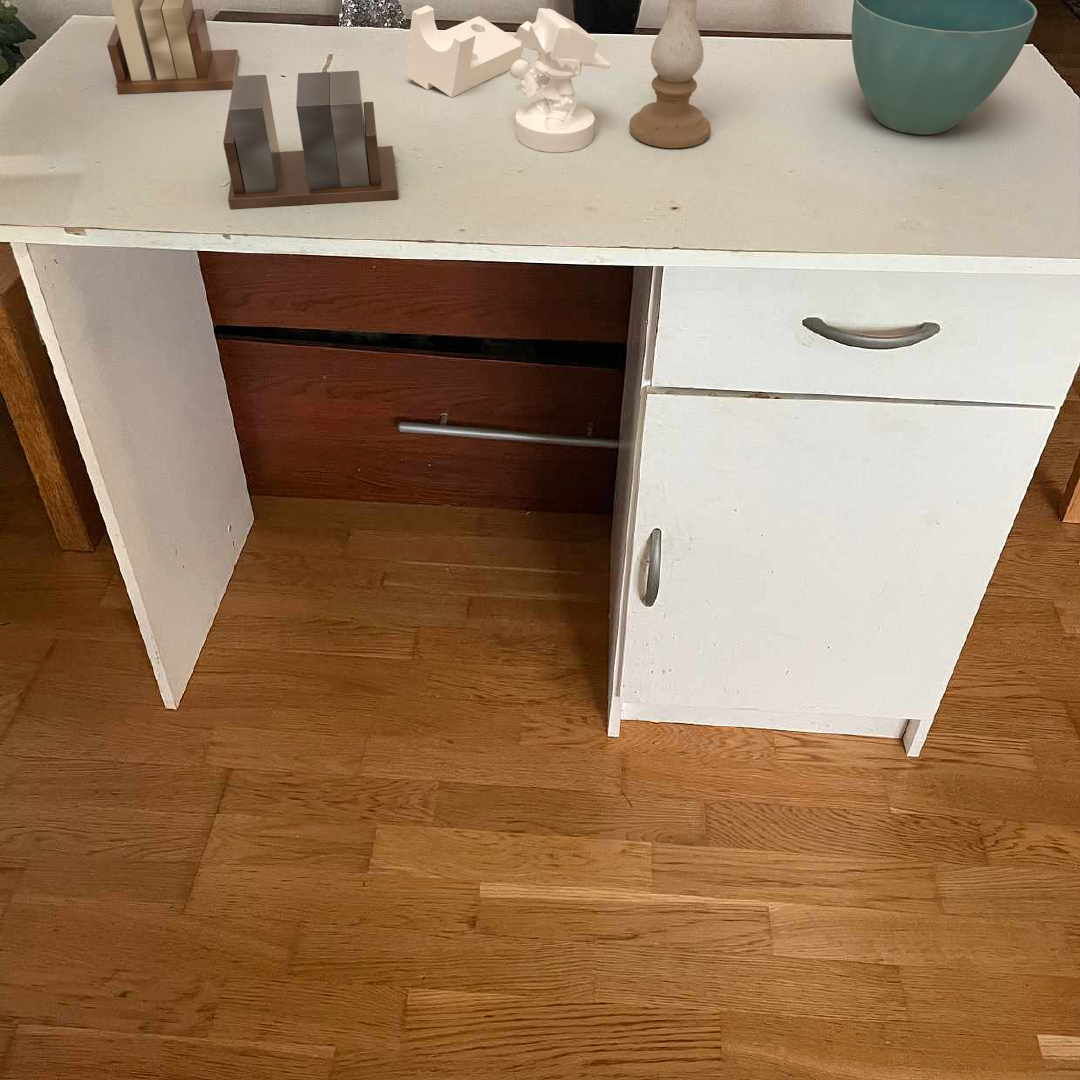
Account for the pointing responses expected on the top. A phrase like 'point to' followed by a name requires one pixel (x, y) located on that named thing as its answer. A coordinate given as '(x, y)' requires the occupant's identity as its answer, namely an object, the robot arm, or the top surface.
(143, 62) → the cream book
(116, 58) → the brown book rack
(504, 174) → the top surface
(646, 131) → the candle holder
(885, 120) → the plant pot
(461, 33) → the bracket
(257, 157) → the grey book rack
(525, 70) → the character figurine
